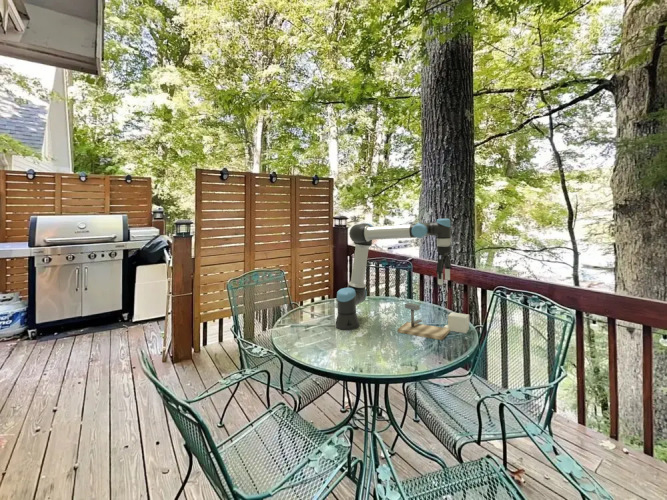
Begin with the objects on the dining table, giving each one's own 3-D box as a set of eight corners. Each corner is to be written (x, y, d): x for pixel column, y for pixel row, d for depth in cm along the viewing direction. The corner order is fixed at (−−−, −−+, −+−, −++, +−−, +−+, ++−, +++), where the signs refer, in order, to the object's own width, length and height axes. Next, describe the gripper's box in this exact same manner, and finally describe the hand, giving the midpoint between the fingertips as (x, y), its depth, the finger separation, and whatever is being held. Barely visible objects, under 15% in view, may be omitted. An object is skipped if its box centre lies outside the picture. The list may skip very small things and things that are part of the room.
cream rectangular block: (443, 329, 199) (442, 314, 198) (446, 325, 205) (446, 311, 204) (465, 333, 192) (465, 317, 191) (468, 329, 198) (468, 314, 197)
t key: (416, 328, 196) (416, 306, 194) (405, 325, 202) (404, 303, 200) (426, 324, 202) (426, 302, 201) (415, 321, 208) (414, 300, 207)
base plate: (397, 332, 198) (397, 328, 198) (407, 325, 210) (406, 321, 210) (442, 340, 184) (442, 336, 183) (449, 332, 195) (449, 328, 195)
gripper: (443, 248, 181) (444, 287, 183) (456, 243, 201) (456, 278, 203) (430, 248, 185) (430, 285, 187) (443, 243, 205) (444, 277, 208)
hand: (444, 282), depth 195 cm, fingers open, 13 cm apart
